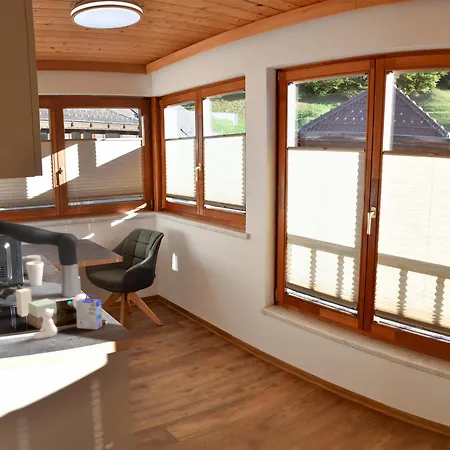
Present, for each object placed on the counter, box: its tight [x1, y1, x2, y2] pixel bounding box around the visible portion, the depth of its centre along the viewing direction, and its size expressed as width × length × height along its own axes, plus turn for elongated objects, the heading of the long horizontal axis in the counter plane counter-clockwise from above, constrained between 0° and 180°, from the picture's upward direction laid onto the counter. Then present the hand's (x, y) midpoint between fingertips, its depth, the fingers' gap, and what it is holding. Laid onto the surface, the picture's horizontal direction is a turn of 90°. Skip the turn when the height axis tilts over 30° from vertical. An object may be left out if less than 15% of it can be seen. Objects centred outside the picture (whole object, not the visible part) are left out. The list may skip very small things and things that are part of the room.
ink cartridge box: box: [75, 293, 103, 330], centre depth 223 cm, size 10×6×14 cm, turn 78°
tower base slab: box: [27, 313, 58, 329], centre depth 229 cm, size 9×9×5 cm
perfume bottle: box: [67, 293, 89, 309], centre depth 249 cm, size 8×8×12 cm
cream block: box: [15, 287, 33, 317], centre depth 241 cm, size 5×5×12 cm
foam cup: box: [25, 260, 45, 287], centre depth 294 cm, size 10×9×13 cm
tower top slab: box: [28, 297, 58, 318], centre depth 228 cm, size 9×9×5 cm
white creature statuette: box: [33, 308, 58, 340], centre depth 213 cm, size 10×9×12 cm
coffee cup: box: [24, 254, 42, 276], centre depth 317 cm, size 9×9×12 cm
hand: (14, 295), depth 248 cm, fingers open, 8 cm apart
